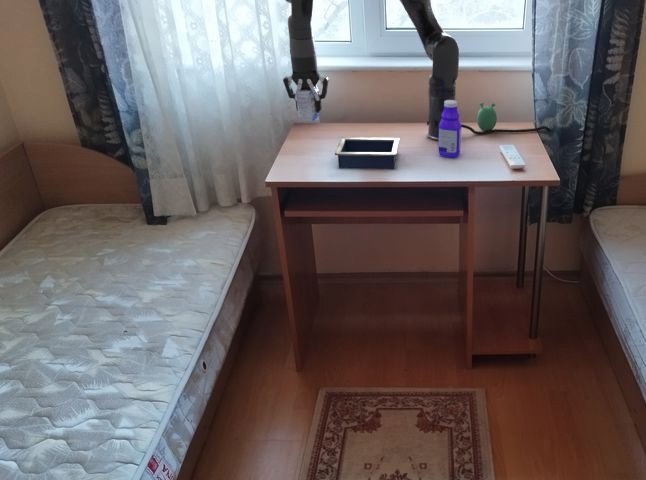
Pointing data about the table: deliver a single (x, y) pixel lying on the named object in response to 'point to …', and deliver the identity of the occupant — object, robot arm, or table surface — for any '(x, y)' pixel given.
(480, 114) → the alien toy
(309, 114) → the medicine box
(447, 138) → the bottle
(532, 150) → the table surface
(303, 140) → the table surface
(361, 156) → the rectangular frame
